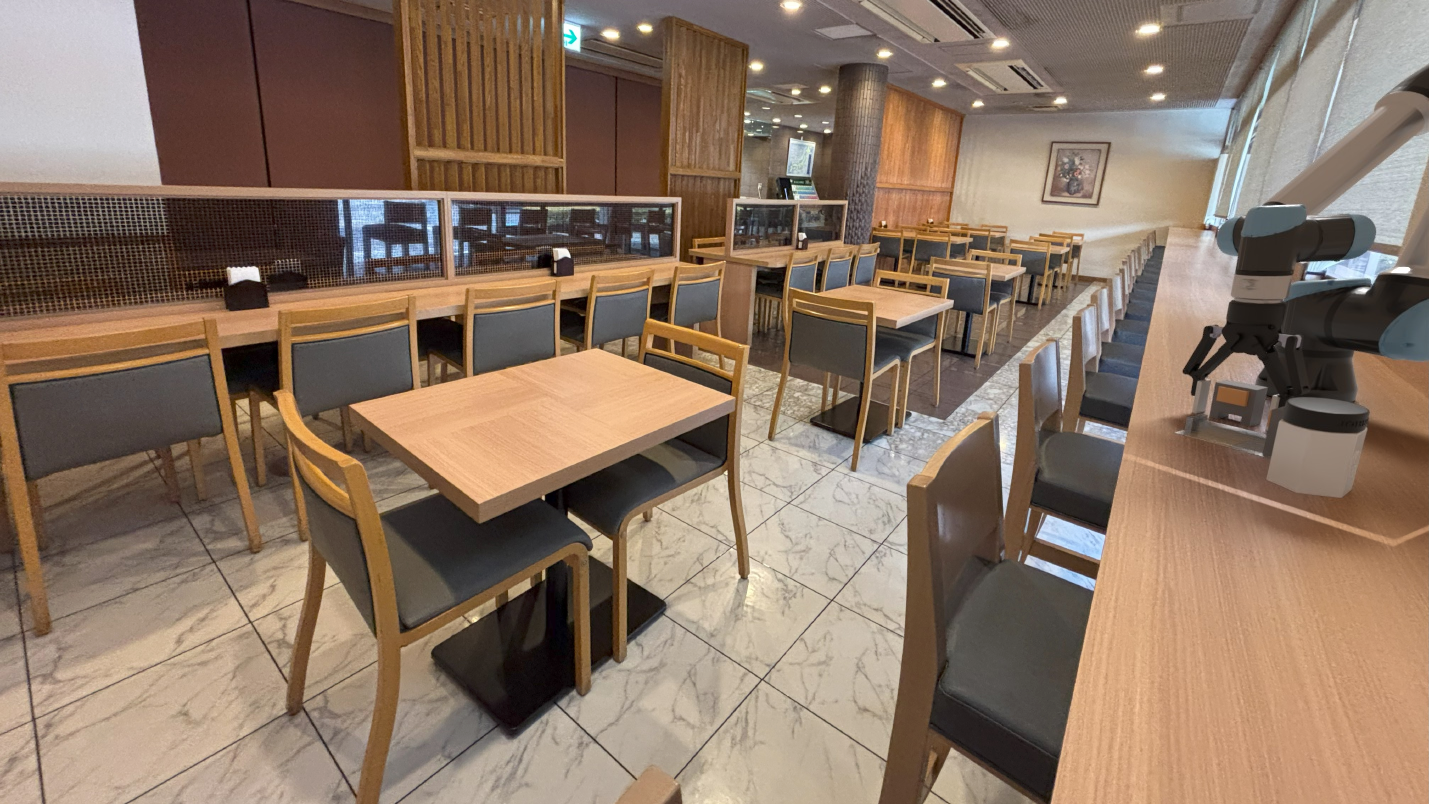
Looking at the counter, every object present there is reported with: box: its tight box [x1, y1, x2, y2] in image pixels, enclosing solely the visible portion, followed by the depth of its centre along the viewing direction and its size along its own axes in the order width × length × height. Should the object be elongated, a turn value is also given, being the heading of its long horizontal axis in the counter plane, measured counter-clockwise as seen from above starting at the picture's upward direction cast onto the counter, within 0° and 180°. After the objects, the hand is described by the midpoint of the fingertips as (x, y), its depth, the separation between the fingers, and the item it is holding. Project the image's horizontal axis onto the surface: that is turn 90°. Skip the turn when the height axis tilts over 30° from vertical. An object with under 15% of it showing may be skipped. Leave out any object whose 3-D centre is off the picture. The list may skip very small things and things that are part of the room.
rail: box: [1173, 413, 1271, 460], centre depth 100 cm, size 9×20×3 cm, turn 23°
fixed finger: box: [1263, 406, 1285, 456], centre depth 96 cm, size 4×6×7 cm, turn 113°
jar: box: [1266, 397, 1371, 499], centre depth 84 cm, size 9×8×12 cm
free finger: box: [1208, 379, 1268, 428], centre depth 111 cm, size 4×6×7 cm, turn 23°
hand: (1233, 422), depth 112 cm, fingers open, 11 cm apart
